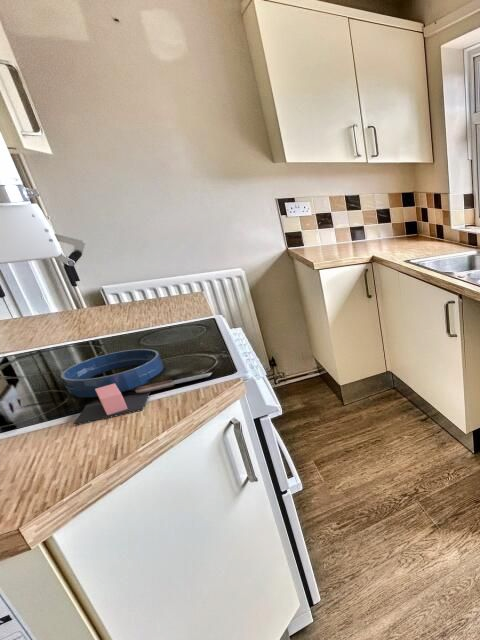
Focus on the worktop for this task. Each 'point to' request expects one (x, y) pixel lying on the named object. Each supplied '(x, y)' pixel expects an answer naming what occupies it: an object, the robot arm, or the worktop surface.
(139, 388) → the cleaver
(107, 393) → the eraser
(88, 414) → the mat
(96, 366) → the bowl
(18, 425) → the worktop surface
